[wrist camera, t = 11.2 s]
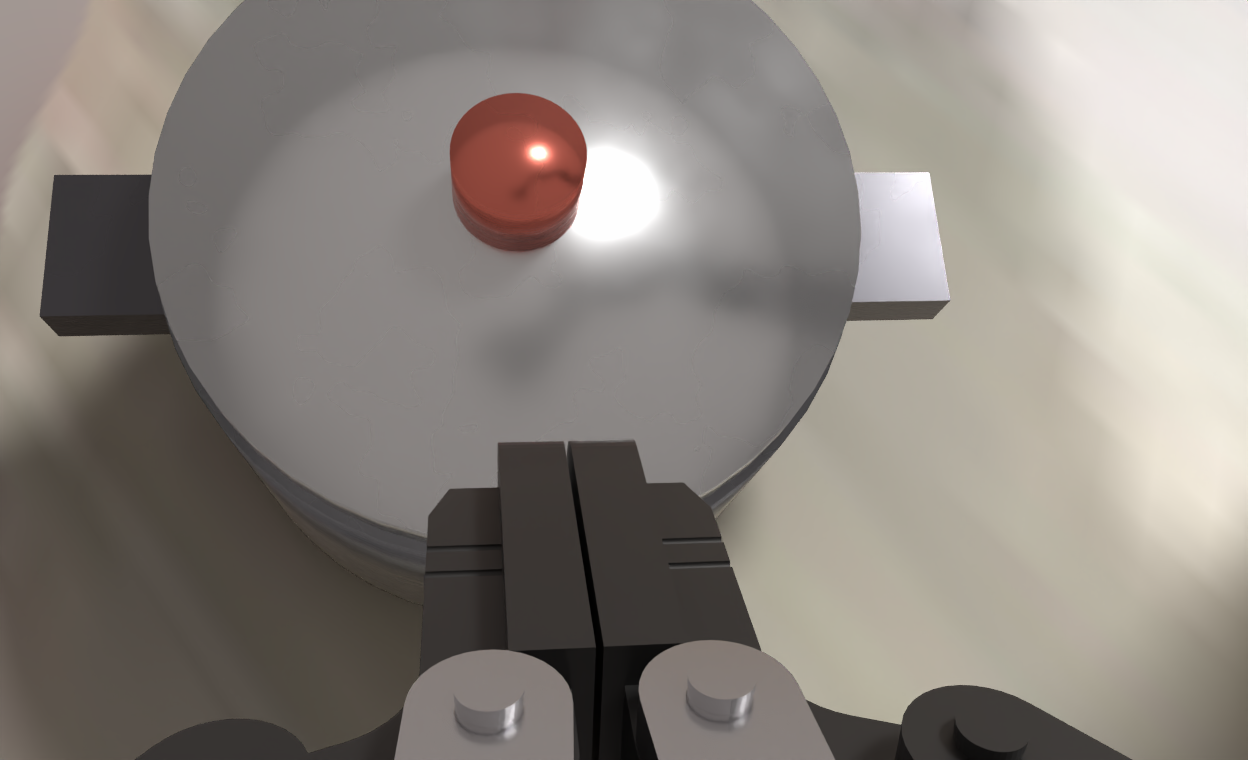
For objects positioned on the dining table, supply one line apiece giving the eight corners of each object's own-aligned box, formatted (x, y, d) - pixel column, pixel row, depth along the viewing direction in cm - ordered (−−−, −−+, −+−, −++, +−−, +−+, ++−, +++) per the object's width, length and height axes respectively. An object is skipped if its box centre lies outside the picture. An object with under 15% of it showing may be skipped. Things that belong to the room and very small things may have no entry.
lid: (182, -72, 32) (150, -161, 29) (807, -58, 34) (838, -140, 31) (137, 569, 26) (92, 542, 23) (889, 536, 28) (937, 508, 25)
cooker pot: (158, 118, 41) (60, -78, 32) (819, 120, 44) (910, -59, 35) (118, 688, 35) (-19, 655, 25) (890, 645, 38) (1023, 601, 28)
